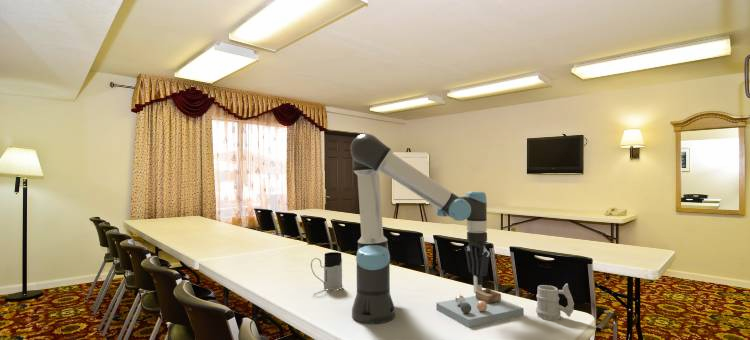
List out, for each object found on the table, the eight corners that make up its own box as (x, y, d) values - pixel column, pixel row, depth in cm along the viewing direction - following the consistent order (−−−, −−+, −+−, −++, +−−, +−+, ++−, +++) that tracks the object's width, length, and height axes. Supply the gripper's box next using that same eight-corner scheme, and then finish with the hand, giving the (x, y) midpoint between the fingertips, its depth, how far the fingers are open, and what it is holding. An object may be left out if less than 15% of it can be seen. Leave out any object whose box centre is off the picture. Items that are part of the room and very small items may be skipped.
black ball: (465, 315, 120) (464, 305, 120) (458, 312, 123) (458, 301, 124) (473, 314, 122) (473, 303, 122) (466, 310, 125) (466, 300, 125)
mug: (537, 311, 131) (536, 277, 131) (574, 316, 125) (573, 281, 125) (534, 318, 124) (534, 282, 125) (574, 324, 118) (573, 287, 119)
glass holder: (345, 289, 159) (345, 254, 159) (313, 293, 154) (313, 257, 154) (339, 284, 167) (339, 251, 167) (309, 287, 162) (308, 253, 162)
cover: (487, 303, 131) (487, 292, 132) (475, 298, 137) (475, 288, 137) (501, 300, 134) (500, 290, 134) (488, 295, 140) (488, 285, 140)
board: (468, 327, 117) (468, 319, 117) (436, 309, 133) (436, 302, 133) (523, 315, 127) (523, 308, 127) (487, 300, 143) (487, 293, 143)
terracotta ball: (481, 313, 122) (481, 303, 122) (474, 310, 125) (474, 300, 125) (489, 312, 123) (489, 301, 123) (482, 308, 127) (482, 298, 127)
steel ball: (459, 307, 128) (458, 297, 128) (453, 304, 131) (452, 294, 131) (467, 306, 129) (466, 296, 129) (460, 303, 133) (460, 293, 133)
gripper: (496, 232, 137) (497, 295, 137) (473, 228, 149) (474, 286, 148) (480, 234, 134) (482, 298, 133) (458, 229, 146) (459, 289, 145)
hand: (477, 292), depth 141 cm, fingers closed
